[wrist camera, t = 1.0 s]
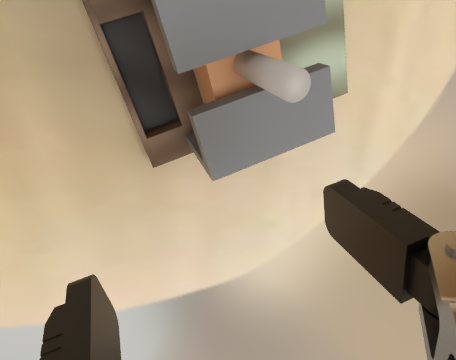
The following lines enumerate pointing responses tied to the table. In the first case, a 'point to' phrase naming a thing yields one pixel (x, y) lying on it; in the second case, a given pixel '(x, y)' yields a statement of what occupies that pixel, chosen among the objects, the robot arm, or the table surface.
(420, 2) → the table surface
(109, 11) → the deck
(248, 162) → the tunnel
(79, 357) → the robot arm
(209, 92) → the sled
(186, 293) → the table surface
